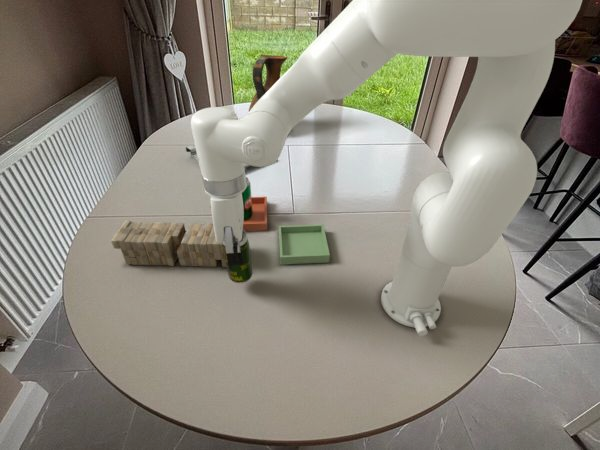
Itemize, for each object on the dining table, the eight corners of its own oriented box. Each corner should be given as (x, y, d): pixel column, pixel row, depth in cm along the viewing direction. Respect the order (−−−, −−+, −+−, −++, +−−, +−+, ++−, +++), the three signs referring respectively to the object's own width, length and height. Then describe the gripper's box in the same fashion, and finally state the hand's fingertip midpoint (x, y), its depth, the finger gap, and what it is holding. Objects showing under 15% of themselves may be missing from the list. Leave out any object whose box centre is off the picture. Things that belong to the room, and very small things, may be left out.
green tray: (329, 262, 83) (330, 255, 82) (280, 264, 82) (280, 257, 81) (322, 231, 93) (323, 224, 91) (279, 232, 92) (278, 225, 90)
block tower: (244, 249, 88) (133, 243, 87) (243, 224, 82) (124, 217, 82) (240, 271, 81) (120, 264, 81) (237, 245, 76) (109, 238, 76)
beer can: (236, 264, 78) (229, 224, 70) (257, 270, 76) (251, 230, 69) (224, 281, 74) (215, 240, 66) (246, 287, 72) (239, 246, 65)
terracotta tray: (267, 230, 93) (266, 223, 91) (218, 232, 92) (217, 225, 90) (266, 203, 103) (266, 196, 101) (223, 204, 102) (222, 197, 100)
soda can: (249, 222, 94) (246, 186, 87) (232, 219, 95) (228, 183, 88) (255, 211, 98) (252, 176, 91) (238, 209, 99) (234, 174, 92)
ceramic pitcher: (302, 127, 150) (304, 54, 132) (277, 142, 137) (275, 64, 118) (267, 117, 158) (264, 47, 140) (240, 131, 145) (233, 56, 126)
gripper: (209, 159, 66) (223, 229, 77) (195, 209, 53) (214, 285, 64) (247, 157, 66) (256, 228, 78) (243, 206, 53) (253, 283, 64)
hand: (237, 253), depth 71 cm, fingers closed on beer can, 5 cm apart
